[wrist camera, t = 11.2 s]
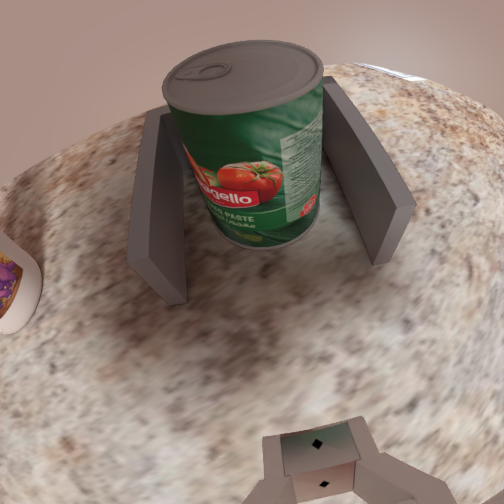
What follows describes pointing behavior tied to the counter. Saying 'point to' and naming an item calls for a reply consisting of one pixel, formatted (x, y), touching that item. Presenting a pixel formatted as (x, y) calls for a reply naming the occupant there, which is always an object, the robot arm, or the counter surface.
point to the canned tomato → (253, 137)
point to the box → (175, 161)
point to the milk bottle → (17, 286)
